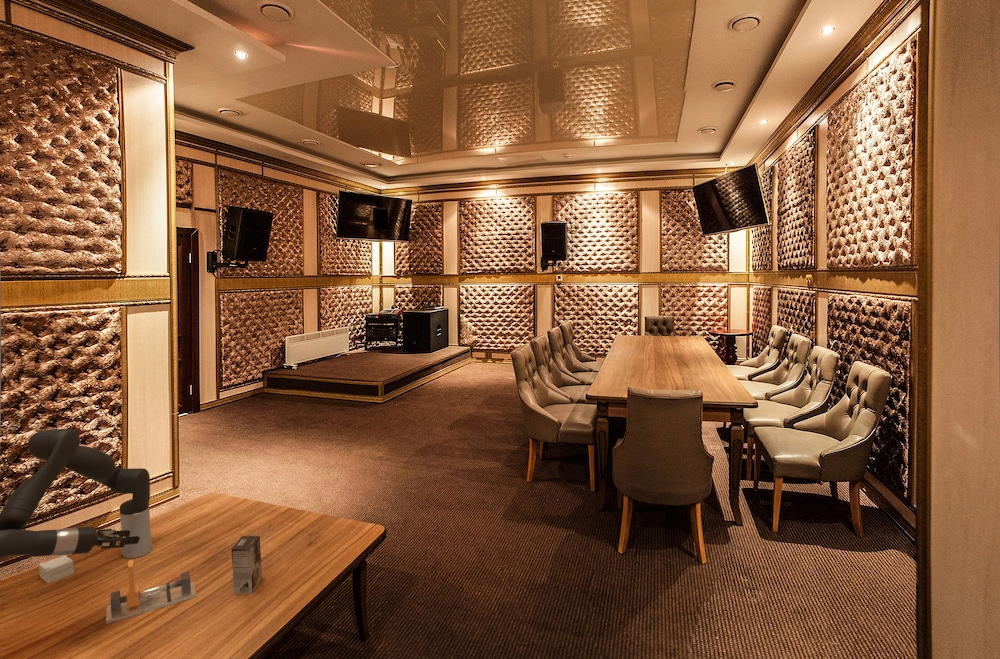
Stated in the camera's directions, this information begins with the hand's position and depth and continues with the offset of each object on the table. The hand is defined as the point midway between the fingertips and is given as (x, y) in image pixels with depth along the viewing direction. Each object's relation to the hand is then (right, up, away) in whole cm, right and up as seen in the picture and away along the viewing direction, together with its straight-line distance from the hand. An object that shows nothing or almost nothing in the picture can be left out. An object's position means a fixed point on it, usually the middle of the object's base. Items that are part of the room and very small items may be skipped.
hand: (134, 536), depth 168 cm
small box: (-41, -22, +19) cm, 50 cm away
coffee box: (+31, -22, +12) cm, 40 cm away
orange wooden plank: (0, -21, 0) cm, 21 cm away
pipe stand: (+4, -23, +3) cm, 23 cm away
